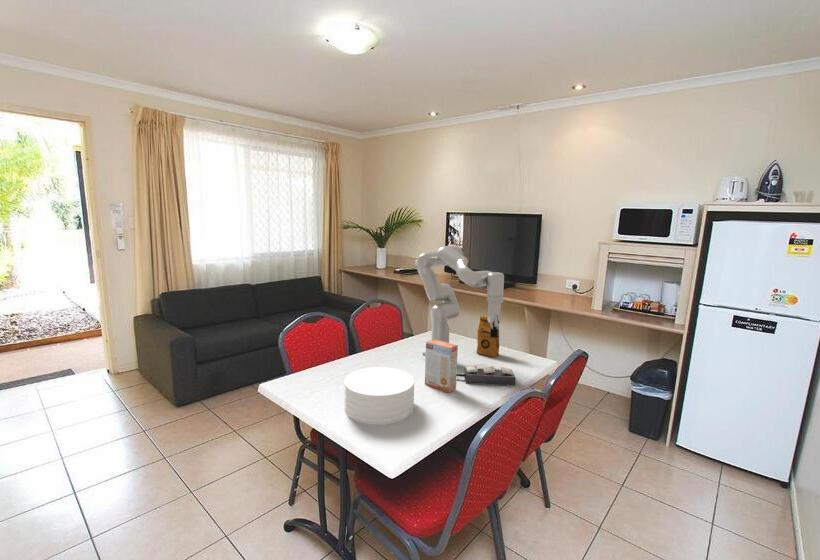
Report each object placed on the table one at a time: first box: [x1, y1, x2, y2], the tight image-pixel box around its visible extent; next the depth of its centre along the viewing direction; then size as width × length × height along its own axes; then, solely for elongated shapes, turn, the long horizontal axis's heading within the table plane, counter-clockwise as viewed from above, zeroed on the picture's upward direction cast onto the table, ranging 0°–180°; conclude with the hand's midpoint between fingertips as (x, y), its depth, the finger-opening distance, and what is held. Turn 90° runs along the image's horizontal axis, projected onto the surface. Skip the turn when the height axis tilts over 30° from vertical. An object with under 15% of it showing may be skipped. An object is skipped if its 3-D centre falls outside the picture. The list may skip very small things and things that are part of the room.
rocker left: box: [465, 365, 479, 373], centre depth 185 cm, size 5×4×1 cm
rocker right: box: [500, 366, 514, 375], centre depth 184 cm, size 5×4×1 cm
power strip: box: [456, 367, 517, 387], centre depth 185 cm, size 29×9×5 cm, turn 86°
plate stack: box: [343, 366, 415, 425], centre depth 156 cm, size 28×28×12 cm
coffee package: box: [476, 315, 500, 358], centre depth 221 cm, size 10×12×22 cm
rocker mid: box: [482, 366, 496, 373], centre depth 184 cm, size 5×4×1 cm
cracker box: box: [424, 339, 459, 393], centre depth 175 cm, size 14×6×21 cm, turn 49°
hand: (493, 336), depth 183 cm, fingers closed
